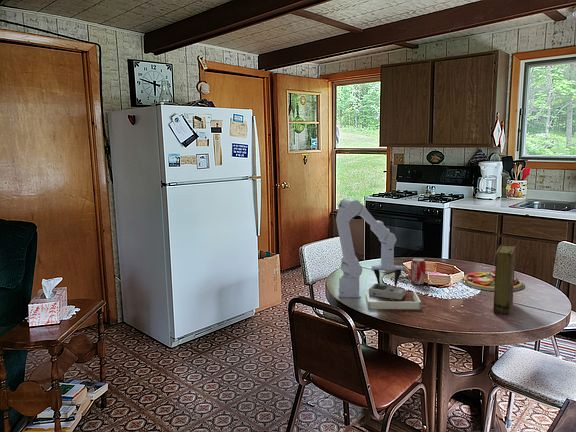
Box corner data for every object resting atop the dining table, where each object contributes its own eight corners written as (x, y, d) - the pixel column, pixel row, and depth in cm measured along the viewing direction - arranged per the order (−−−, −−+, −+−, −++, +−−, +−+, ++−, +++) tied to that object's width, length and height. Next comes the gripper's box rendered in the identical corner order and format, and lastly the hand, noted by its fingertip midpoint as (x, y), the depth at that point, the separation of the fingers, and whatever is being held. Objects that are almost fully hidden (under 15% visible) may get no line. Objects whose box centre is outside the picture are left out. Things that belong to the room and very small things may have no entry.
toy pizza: (507, 274, 226) (507, 266, 225) (536, 292, 199) (536, 283, 198) (452, 276, 227) (453, 267, 226) (474, 293, 199) (474, 284, 199)
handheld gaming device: (400, 301, 193) (401, 292, 192) (368, 296, 200) (368, 288, 199) (405, 295, 200) (406, 287, 200) (374, 290, 207) (374, 282, 207)
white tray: (368, 308, 184) (368, 301, 183) (365, 297, 197) (365, 291, 196) (421, 309, 181) (421, 302, 181) (415, 298, 195) (415, 291, 194)
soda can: (426, 285, 211) (426, 261, 209) (411, 285, 213) (411, 261, 211) (424, 281, 218) (425, 257, 216) (410, 280, 220) (410, 257, 218)
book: (498, 301, 188) (501, 243, 184) (512, 303, 185) (516, 245, 182) (493, 313, 175) (496, 252, 171) (508, 316, 172) (511, 253, 168)
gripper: (401, 255, 208) (401, 282, 210) (370, 255, 210) (370, 282, 212) (404, 258, 201) (403, 287, 203) (372, 258, 203) (372, 287, 205)
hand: (387, 285), depth 207 cm, fingers open, 7 cm apart
